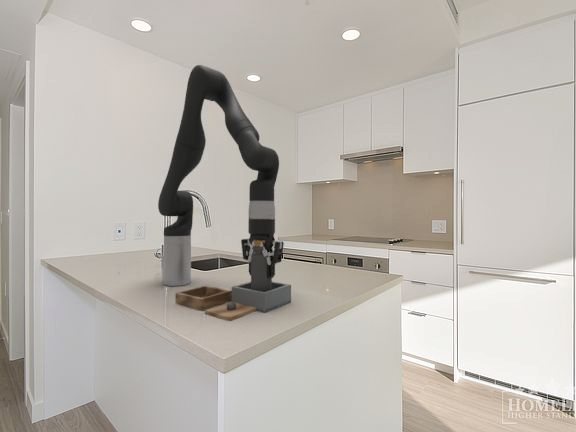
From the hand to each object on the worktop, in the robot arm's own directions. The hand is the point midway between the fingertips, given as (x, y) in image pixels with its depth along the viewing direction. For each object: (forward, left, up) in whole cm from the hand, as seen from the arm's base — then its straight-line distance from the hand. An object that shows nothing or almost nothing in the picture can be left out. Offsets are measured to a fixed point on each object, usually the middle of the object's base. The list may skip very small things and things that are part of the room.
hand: (261, 276), depth 90 cm
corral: (-14, -9, -8) cm, 18 cm away
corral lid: (-2, -10, -8) cm, 13 cm away
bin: (0, 0, -8) cm, 8 cm away
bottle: (0, 0, -5) cm, 5 cm away
